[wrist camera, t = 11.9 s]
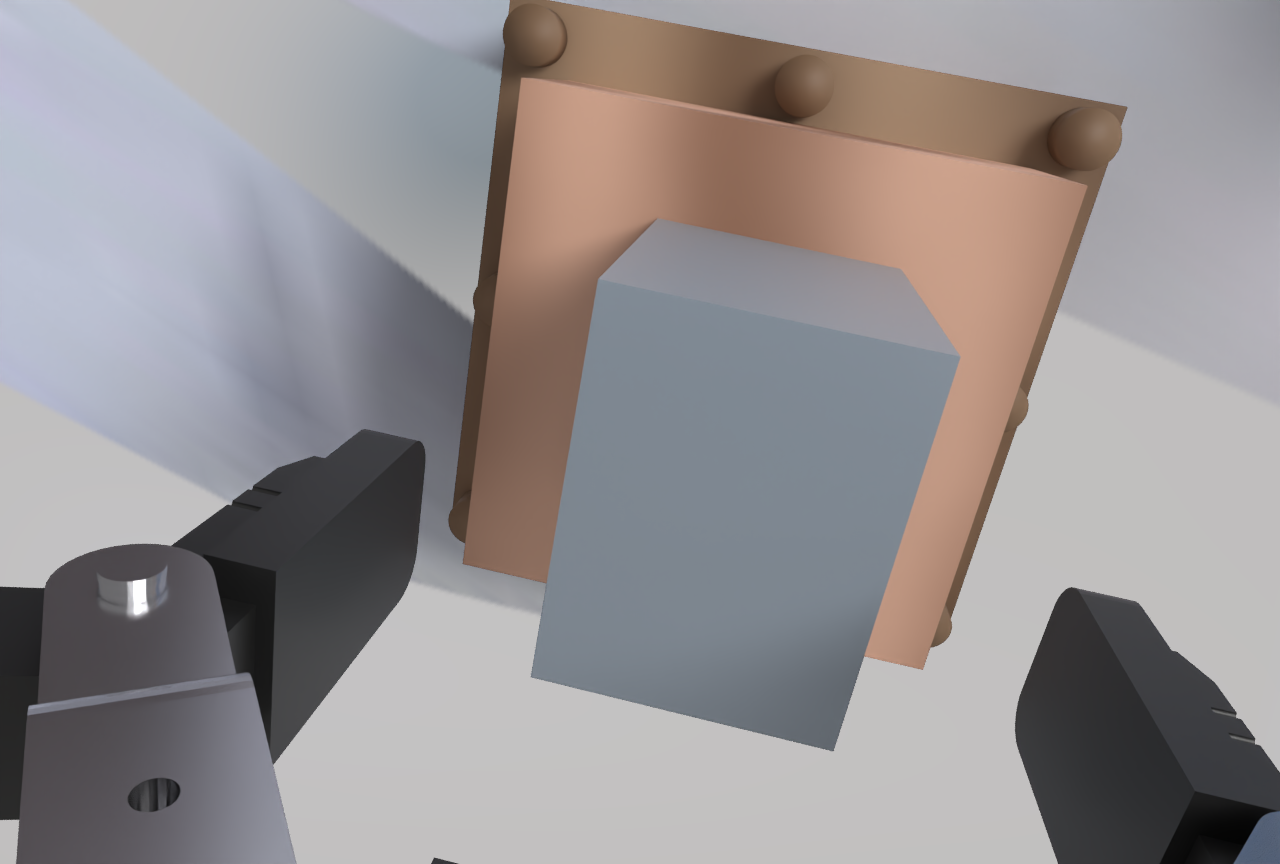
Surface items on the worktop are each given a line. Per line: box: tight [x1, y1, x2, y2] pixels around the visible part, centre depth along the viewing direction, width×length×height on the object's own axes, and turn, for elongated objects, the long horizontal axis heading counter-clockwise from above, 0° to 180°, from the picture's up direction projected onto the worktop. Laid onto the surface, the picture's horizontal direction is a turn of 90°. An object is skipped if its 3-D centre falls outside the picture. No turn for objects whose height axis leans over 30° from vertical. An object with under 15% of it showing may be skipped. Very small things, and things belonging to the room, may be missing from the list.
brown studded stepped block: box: [448, 0, 1127, 670], centre depth 22 cm, size 13×13×9 cm
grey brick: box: [531, 218, 961, 751], centre depth 15 cm, size 4×6×6 cm
